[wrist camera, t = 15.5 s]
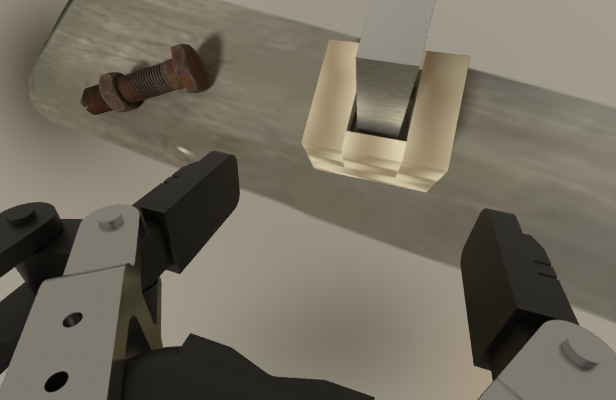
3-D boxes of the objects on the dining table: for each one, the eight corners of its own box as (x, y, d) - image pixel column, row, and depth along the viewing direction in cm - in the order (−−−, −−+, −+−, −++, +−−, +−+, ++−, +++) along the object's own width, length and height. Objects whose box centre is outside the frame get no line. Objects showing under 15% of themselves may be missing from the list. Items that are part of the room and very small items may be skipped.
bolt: (112, 111, 43) (212, 79, 40) (98, 133, 39) (206, 100, 37) (78, 71, 39) (187, 34, 36) (59, 92, 35) (178, 52, 33)
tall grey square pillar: (404, 105, 31) (438, -14, 17) (392, 152, 30) (419, 66, 17) (369, 100, 32) (376, -20, 18) (357, 145, 31) (355, 57, 17)
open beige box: (444, 103, 33) (470, 56, 26) (426, 192, 32) (447, 170, 24) (336, 87, 36) (329, 39, 28) (314, 169, 34) (301, 142, 27)
